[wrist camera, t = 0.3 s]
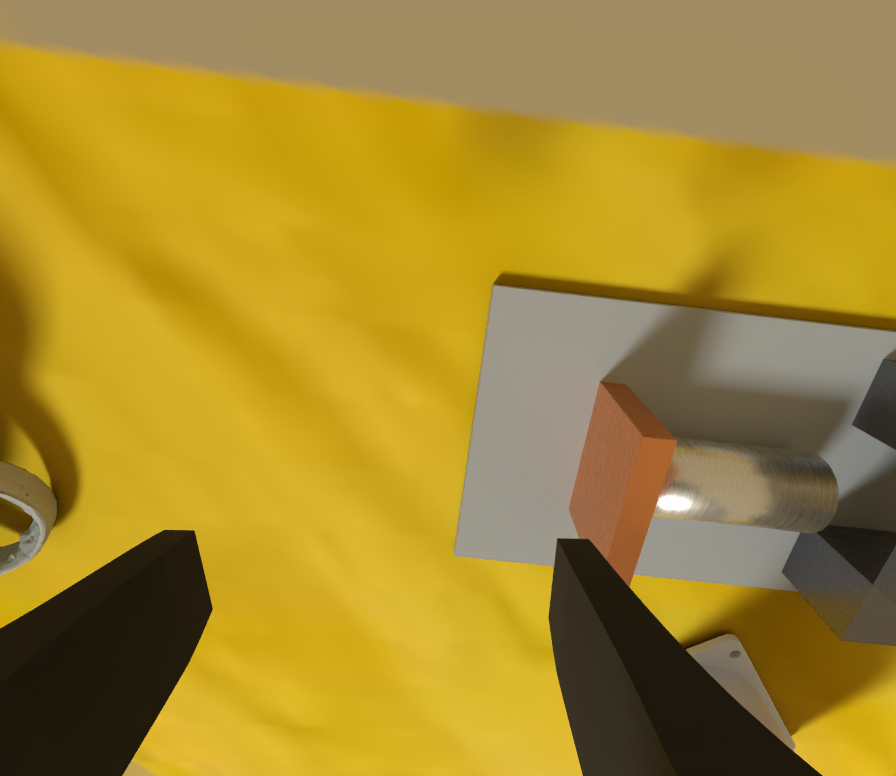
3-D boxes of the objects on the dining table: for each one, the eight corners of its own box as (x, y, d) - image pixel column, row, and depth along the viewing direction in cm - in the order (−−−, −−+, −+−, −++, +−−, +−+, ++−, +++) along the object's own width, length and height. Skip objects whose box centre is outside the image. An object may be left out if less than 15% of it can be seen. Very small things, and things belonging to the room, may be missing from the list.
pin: (807, 405, 18) (913, 466, 14) (753, 528, 20) (831, 614, 16) (599, 381, 18) (643, 436, 14) (568, 508, 20) (597, 590, 16)
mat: (1084, 352, 17) (1098, 356, 17) (926, 599, 22) (934, 606, 21) (493, 283, 17) (494, 285, 16) (454, 549, 21) (454, 555, 21)
